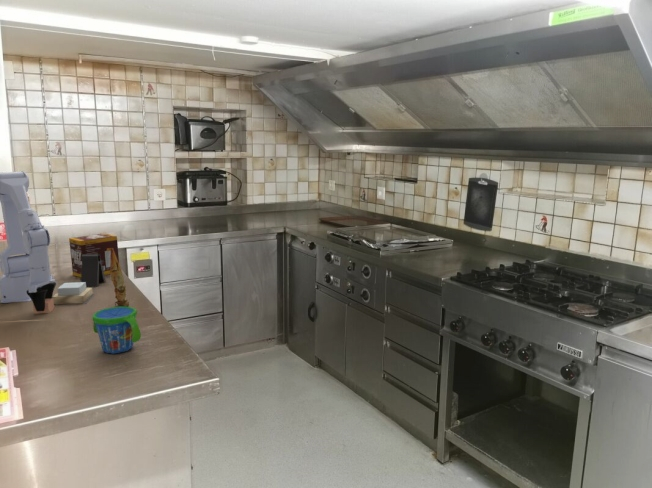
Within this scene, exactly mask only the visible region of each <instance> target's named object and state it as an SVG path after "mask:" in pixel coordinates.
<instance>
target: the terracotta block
mask: <svg viewBox="0 0 652 488" xmlns="http://www.w3.org/2000/svg"><path fill="white" fill-rule="evenodd" d="M32 309H33V314H50V313H51V312H52V311H53V310H54V309H55V305H54V300H53V299H45V309H44V311H36V309H35V306H34V304H33V303H32Z"/></svg>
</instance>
